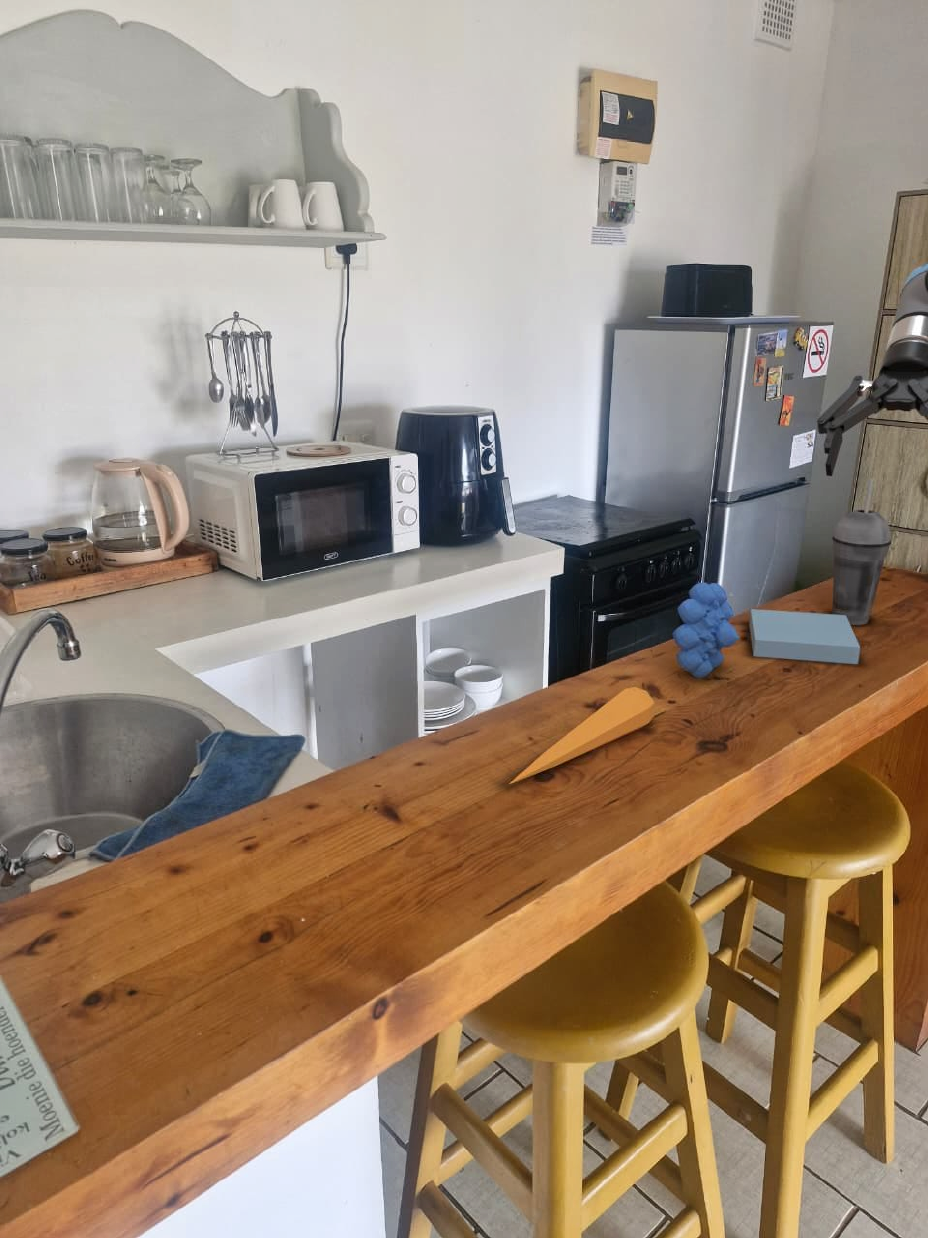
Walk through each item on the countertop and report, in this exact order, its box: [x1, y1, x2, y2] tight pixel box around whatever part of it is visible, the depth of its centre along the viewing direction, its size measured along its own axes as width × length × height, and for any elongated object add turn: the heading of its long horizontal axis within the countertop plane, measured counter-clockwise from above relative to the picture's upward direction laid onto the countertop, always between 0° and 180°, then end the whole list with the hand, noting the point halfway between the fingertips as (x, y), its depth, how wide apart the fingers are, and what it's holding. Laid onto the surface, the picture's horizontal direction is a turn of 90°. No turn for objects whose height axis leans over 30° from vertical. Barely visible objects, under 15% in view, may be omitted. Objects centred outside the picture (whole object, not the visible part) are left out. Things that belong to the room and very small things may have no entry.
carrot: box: [509, 686, 656, 785], centre depth 85 cm, size 20×4×4 cm, turn 132°
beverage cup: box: [831, 477, 892, 626], centre depth 116 cm, size 7×7×20 cm
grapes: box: [672, 582, 740, 679], centre depth 100 cm, size 12×7×12 cm, turn 138°
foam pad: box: [748, 608, 861, 665], centre depth 111 cm, size 12×12×2 cm
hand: (880, 474), depth 121 cm, fingers open, 13 cm apart
